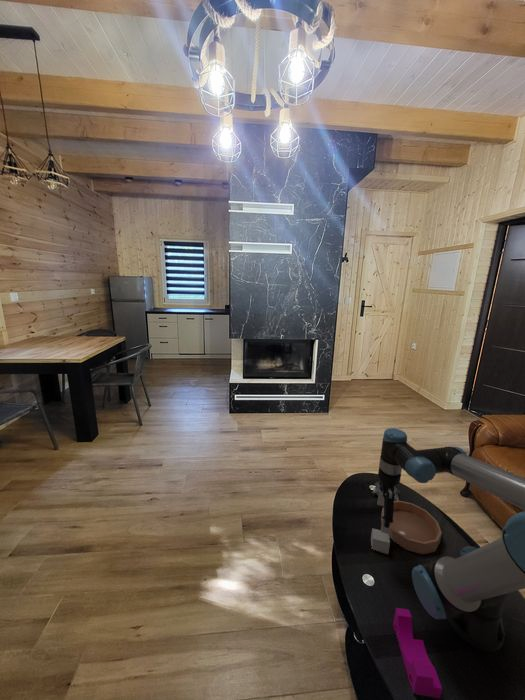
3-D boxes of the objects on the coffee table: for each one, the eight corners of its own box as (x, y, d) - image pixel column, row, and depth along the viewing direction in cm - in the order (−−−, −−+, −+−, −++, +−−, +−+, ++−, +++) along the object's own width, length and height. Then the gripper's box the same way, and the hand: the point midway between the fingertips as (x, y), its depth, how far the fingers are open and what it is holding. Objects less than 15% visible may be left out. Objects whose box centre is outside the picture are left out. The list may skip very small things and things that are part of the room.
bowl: (446, 560, 106) (448, 549, 105) (384, 544, 112) (386, 534, 111) (430, 517, 126) (432, 507, 125) (379, 505, 132) (380, 496, 131)
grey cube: (388, 555, 107) (390, 542, 106) (371, 551, 109) (373, 538, 108) (386, 544, 112) (388, 532, 111) (370, 540, 114) (372, 528, 112)
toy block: (439, 701, 70) (444, 680, 68) (412, 697, 70) (417, 675, 69) (414, 630, 84) (418, 610, 83) (392, 626, 85) (395, 607, 83)
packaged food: (397, 506, 132) (399, 496, 131) (371, 495, 137) (373, 486, 136) (399, 495, 139) (401, 486, 138) (374, 486, 145) (375, 477, 144)
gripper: (407, 495, 90) (398, 548, 95) (395, 452, 114) (389, 497, 118) (382, 490, 92) (375, 542, 97) (376, 449, 116) (370, 493, 121)
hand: (382, 517), depth 108 cm, fingers open, 13 cm apart
